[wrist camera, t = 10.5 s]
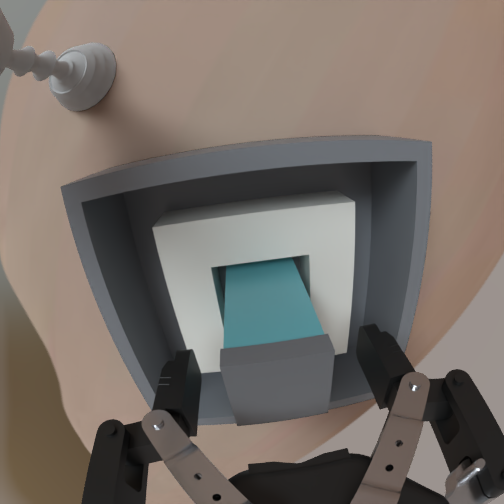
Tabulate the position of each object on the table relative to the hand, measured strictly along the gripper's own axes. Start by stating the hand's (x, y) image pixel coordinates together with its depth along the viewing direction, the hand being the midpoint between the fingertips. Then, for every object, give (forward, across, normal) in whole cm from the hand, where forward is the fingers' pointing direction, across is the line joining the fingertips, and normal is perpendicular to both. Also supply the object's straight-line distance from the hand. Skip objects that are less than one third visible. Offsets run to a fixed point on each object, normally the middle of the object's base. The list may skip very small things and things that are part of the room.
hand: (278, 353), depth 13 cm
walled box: (+8, 0, 0) cm, 8 cm away
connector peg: (+7, 0, 0) cm, 7 cm away
